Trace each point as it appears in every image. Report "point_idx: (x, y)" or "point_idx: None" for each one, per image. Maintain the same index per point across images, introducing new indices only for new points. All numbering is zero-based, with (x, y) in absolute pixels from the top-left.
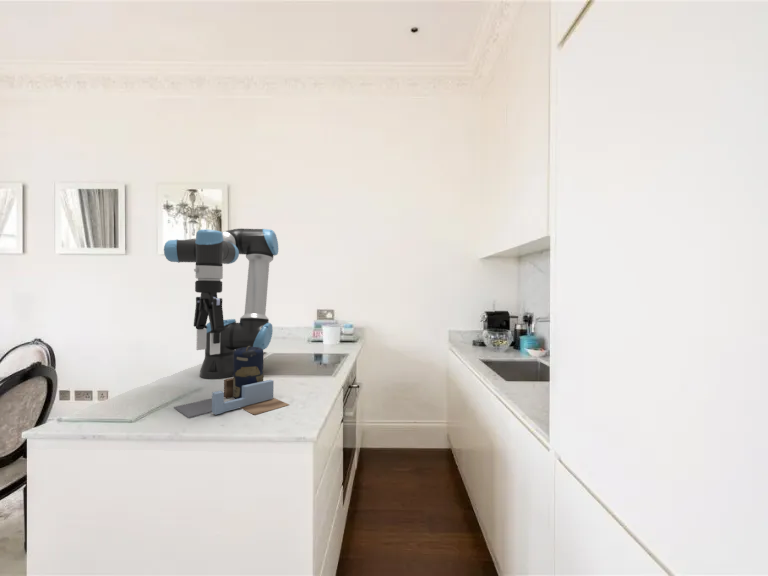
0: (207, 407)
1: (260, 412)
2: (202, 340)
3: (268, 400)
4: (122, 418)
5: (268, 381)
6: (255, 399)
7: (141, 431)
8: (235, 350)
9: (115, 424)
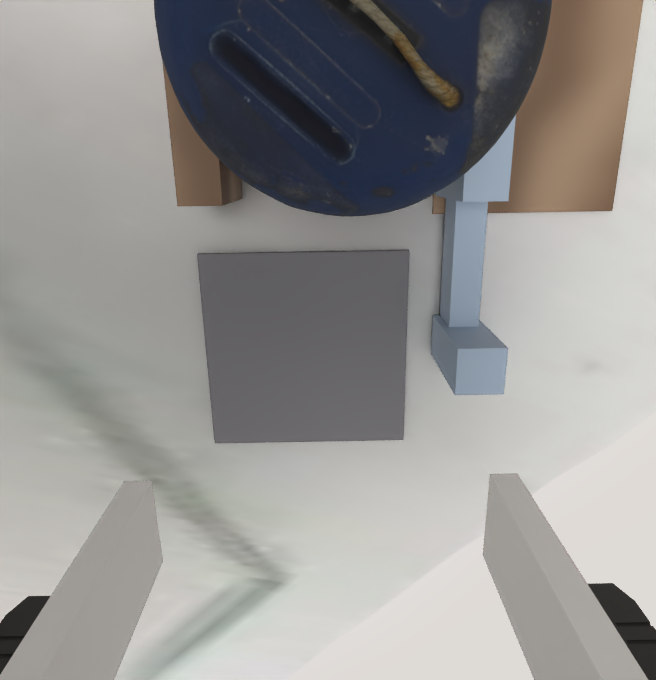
0: (338, 339)
1: (612, 171)
2: (119, 599)
3: None
4: (210, 596)
5: None
6: None
7: (403, 579)
8: (292, 186)
9: (263, 620)
